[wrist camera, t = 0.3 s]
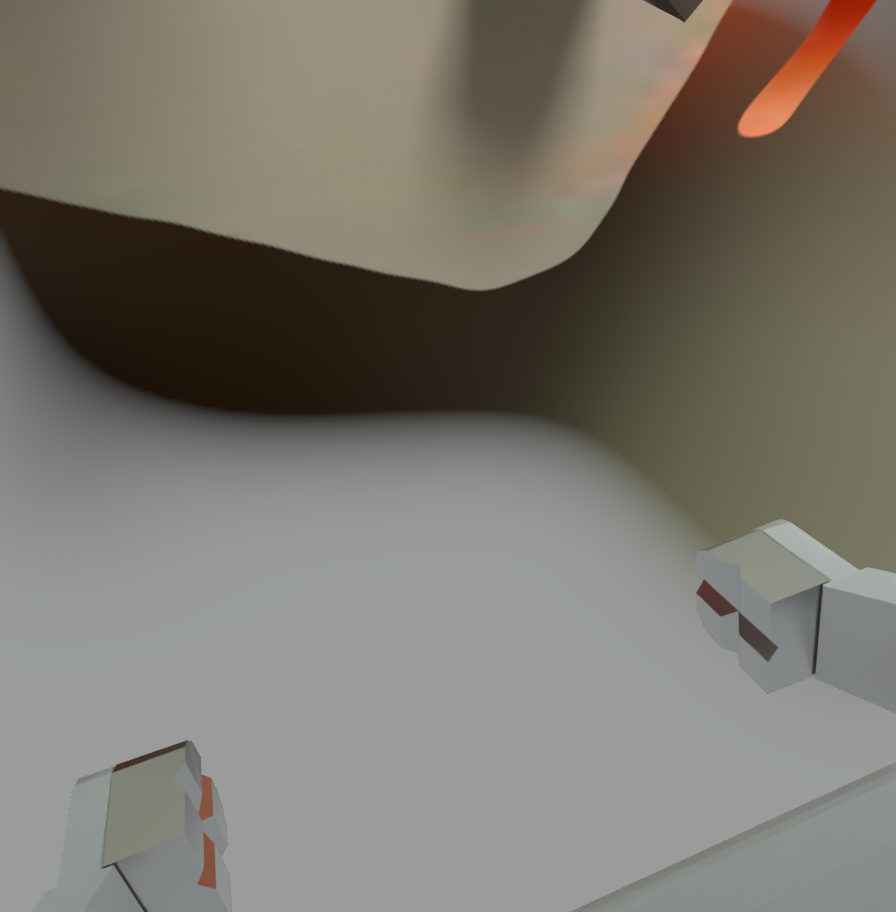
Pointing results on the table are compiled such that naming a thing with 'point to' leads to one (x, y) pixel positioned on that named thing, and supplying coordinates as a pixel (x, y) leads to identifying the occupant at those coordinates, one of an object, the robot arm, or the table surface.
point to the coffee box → (677, 7)
